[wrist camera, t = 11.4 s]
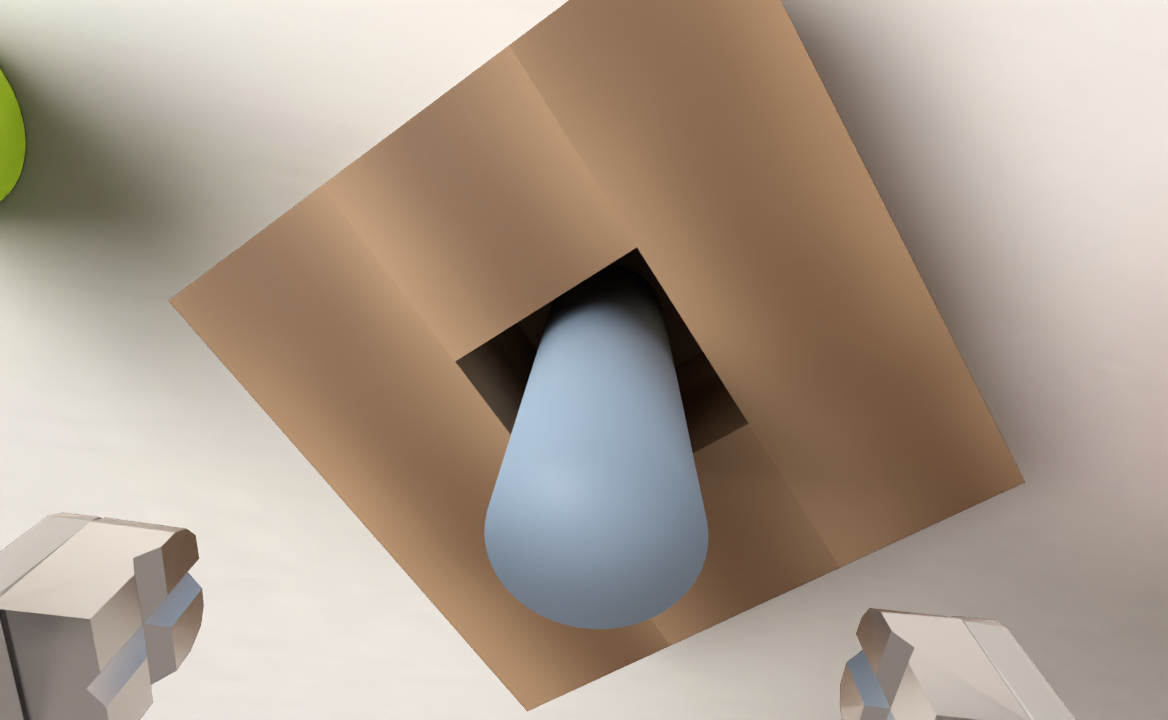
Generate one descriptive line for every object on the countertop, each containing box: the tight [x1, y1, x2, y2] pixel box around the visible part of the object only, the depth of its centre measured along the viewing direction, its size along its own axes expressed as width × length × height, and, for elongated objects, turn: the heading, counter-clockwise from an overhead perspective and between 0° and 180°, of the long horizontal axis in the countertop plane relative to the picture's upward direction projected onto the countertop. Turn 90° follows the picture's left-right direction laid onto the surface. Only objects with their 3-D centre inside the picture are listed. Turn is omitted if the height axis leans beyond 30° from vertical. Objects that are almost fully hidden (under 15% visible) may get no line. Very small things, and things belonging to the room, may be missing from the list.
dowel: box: [484, 265, 708, 629], centre depth 16 cm, size 3×3×11 cm
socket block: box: [169, 0, 1025, 711], centre depth 18 cm, size 14×14×6 cm
